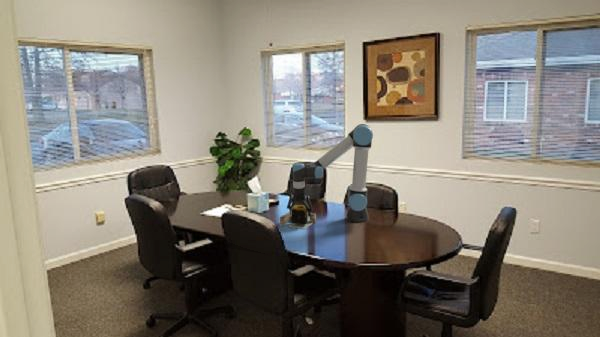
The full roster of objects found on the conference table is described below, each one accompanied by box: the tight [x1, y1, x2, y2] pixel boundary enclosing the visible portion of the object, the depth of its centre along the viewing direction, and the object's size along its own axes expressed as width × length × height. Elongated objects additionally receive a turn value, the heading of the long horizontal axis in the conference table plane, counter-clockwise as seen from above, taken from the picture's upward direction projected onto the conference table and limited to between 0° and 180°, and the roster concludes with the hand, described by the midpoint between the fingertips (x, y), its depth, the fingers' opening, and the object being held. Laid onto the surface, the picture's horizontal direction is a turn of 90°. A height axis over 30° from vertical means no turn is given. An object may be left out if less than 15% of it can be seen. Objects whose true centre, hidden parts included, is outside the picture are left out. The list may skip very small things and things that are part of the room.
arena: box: [279, 211, 317, 227], centre depth 299 cm, size 19×15×6 cm
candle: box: [290, 204, 308, 224], centre depth 296 cm, size 10×10×10 cm
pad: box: [287, 222, 314, 230], centre depth 298 cm, size 12×12×1 cm
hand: (300, 220), depth 297 cm, fingers closed on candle, 11 cm apart
